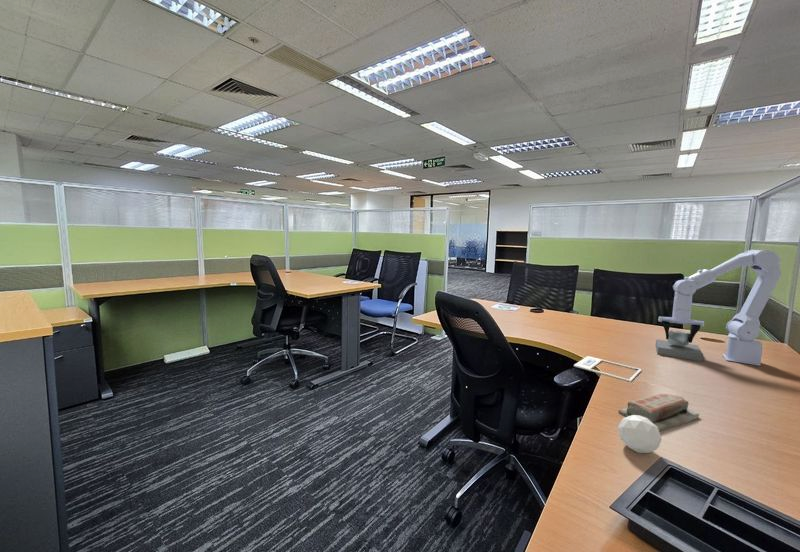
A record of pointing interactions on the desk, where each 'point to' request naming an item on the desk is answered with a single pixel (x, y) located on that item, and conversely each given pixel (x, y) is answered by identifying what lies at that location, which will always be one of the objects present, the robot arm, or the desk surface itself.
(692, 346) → the pedestal
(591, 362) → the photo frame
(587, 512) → the desk surface
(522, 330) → the desk surface
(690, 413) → the packaged product
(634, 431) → the geometric ball
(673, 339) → the grey-green cube
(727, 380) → the desk surface
